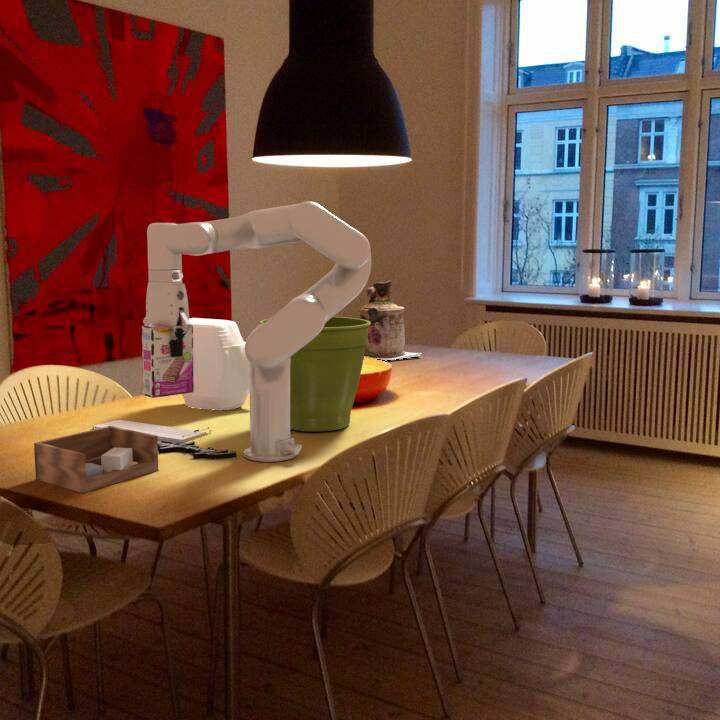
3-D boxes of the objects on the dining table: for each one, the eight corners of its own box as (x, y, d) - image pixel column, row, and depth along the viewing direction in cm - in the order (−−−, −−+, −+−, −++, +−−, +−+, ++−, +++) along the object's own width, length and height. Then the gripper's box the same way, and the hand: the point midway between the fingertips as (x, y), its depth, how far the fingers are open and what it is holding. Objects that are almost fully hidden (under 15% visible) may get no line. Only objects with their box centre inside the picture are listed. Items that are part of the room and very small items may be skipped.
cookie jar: (387, 351, 375) (388, 277, 370) (423, 358, 356) (424, 281, 351) (340, 355, 361) (341, 279, 356) (375, 363, 341) (376, 283, 337)
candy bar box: (153, 398, 196) (151, 327, 194) (142, 396, 200) (140, 325, 197) (195, 392, 204) (193, 323, 201) (184, 390, 207) (182, 322, 205)
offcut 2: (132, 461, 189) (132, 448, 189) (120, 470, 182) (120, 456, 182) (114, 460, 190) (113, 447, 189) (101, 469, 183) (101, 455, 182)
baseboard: (124, 422, 240) (92, 431, 230) (124, 412, 240) (91, 421, 230) (212, 435, 226) (182, 445, 215) (212, 424, 225) (182, 434, 215)
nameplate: (245, 448, 207) (222, 458, 198) (245, 454, 207) (222, 464, 198) (153, 435, 218) (127, 444, 209) (153, 441, 218) (127, 450, 209)
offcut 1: (103, 484, 181) (102, 466, 181) (86, 489, 178) (85, 470, 177) (90, 480, 184) (89, 462, 183) (73, 485, 180) (72, 467, 180)
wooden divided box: (158, 470, 191) (157, 435, 190) (82, 493, 175) (81, 454, 174) (111, 459, 200) (110, 425, 199) (35, 479, 184) (33, 443, 183)
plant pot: (322, 444, 215) (322, 330, 211) (238, 427, 233) (236, 321, 228) (391, 423, 238) (392, 320, 234) (309, 409, 256) (309, 313, 252)
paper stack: (202, 396, 274) (201, 316, 270) (271, 406, 260) (270, 321, 256) (155, 408, 256) (152, 322, 252) (225, 419, 242) (224, 328, 238)
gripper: (203, 278, 195) (205, 356, 198) (152, 275, 205) (155, 350, 208) (179, 279, 189) (181, 360, 192) (127, 276, 199) (130, 353, 202)
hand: (167, 354), depth 200 cm, fingers closed on candy bar box, 5 cm apart
